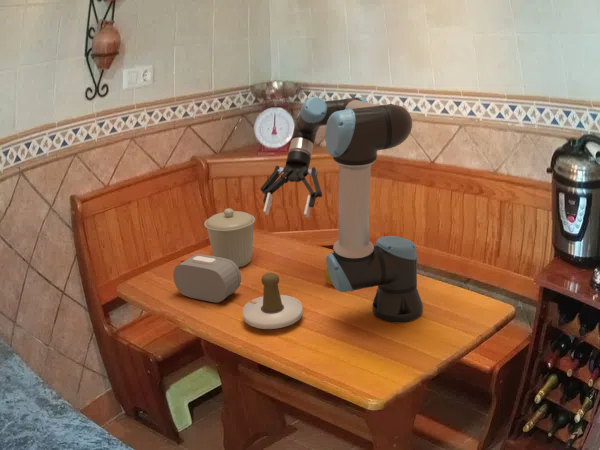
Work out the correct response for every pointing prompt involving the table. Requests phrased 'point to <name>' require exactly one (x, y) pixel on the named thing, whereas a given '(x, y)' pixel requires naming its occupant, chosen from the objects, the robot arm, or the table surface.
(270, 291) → the cork
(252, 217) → the canister
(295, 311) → the turntable
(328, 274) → the lemon
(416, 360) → the table surface
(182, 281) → the alarm clock
